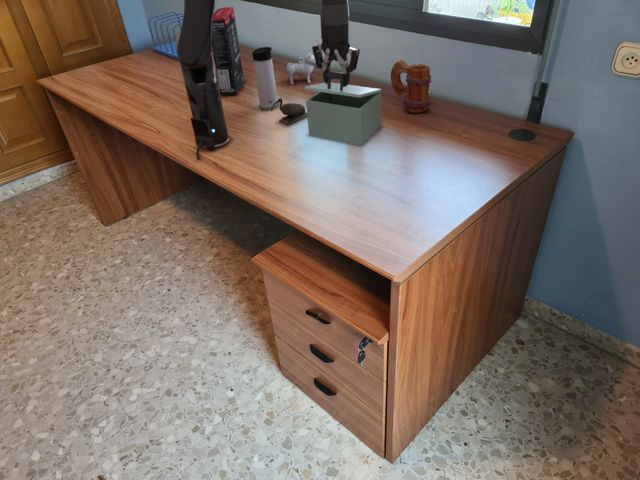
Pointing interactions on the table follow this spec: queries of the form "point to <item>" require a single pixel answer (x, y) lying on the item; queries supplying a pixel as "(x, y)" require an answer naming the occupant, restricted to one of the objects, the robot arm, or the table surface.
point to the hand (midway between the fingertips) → (336, 84)
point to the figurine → (291, 112)
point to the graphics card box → (226, 51)
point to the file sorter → (170, 47)
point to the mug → (412, 85)
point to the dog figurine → (301, 67)
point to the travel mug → (265, 78)
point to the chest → (344, 117)
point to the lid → (341, 87)
